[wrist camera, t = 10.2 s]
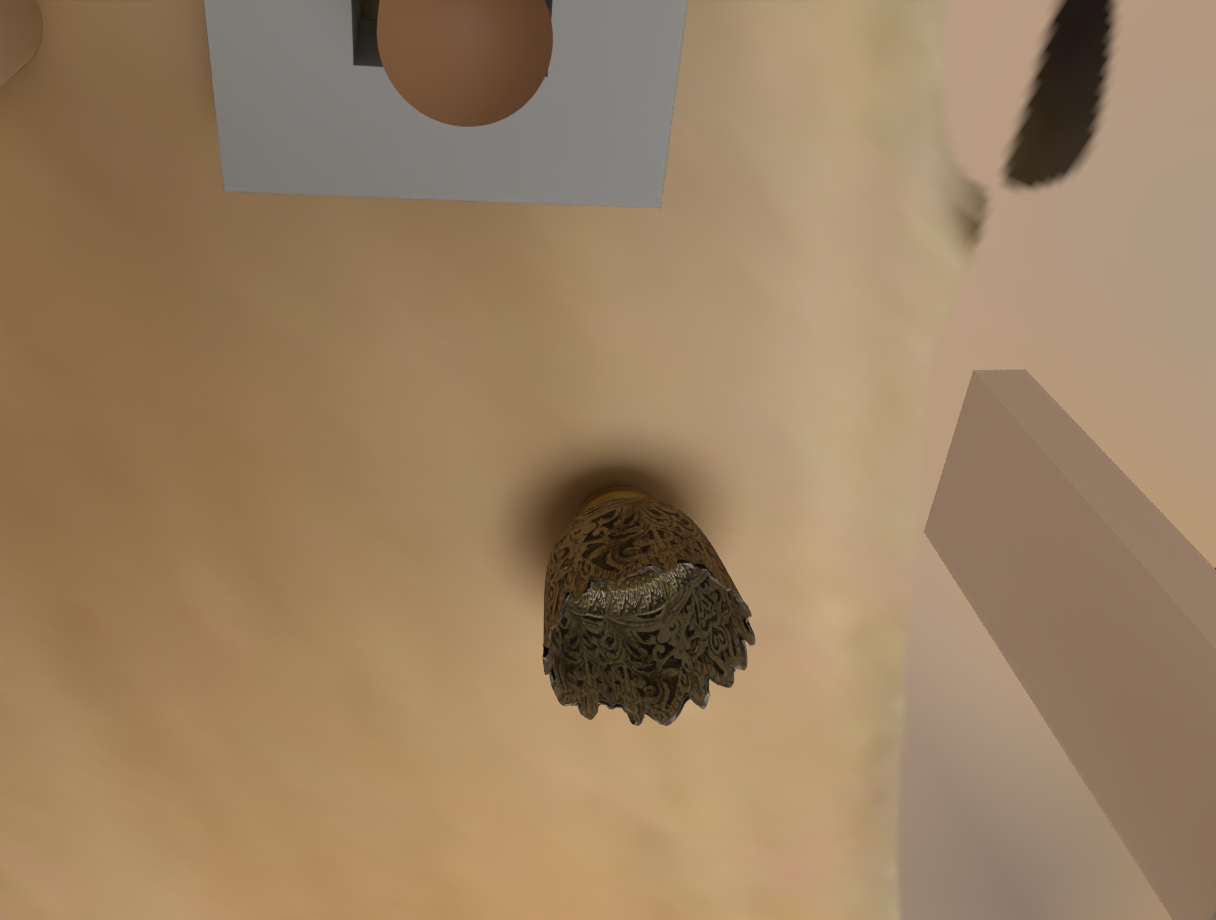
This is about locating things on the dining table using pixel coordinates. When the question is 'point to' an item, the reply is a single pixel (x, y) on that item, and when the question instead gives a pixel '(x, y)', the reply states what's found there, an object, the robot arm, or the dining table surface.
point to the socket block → (425, 148)
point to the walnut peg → (465, 55)
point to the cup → (639, 610)
